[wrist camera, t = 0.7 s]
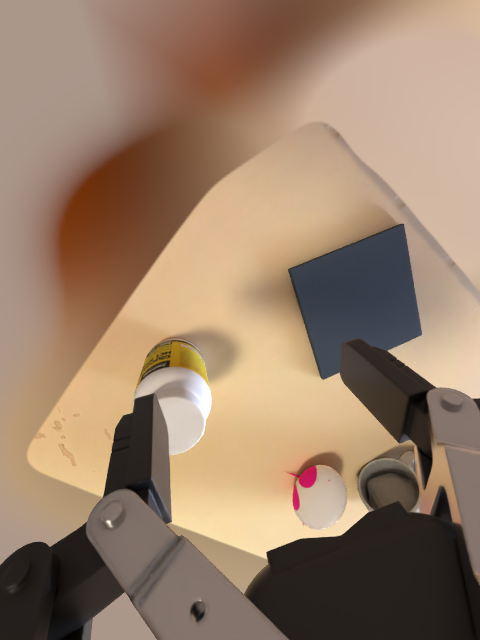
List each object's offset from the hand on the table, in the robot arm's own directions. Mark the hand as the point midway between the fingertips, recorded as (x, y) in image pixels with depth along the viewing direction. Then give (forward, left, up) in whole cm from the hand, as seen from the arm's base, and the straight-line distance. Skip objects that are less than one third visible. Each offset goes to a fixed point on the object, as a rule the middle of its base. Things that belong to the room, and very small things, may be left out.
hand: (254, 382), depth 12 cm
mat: (+7, +16, -18) cm, 25 cm away
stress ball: (+27, +3, -19) cm, 33 cm away
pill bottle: (+5, -6, -19) cm, 20 cm away
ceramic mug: (+33, +14, -19) cm, 40 cm away
